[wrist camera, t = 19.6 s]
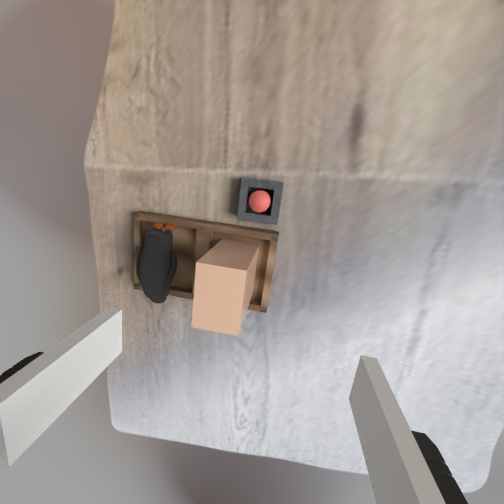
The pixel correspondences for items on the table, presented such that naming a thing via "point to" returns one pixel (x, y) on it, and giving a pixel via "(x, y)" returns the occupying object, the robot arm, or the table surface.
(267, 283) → the wooden divided tray
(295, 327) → the table surface
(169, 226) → the figurine
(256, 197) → the stop button
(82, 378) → the robot arm
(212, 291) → the tan block
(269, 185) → the button collar
